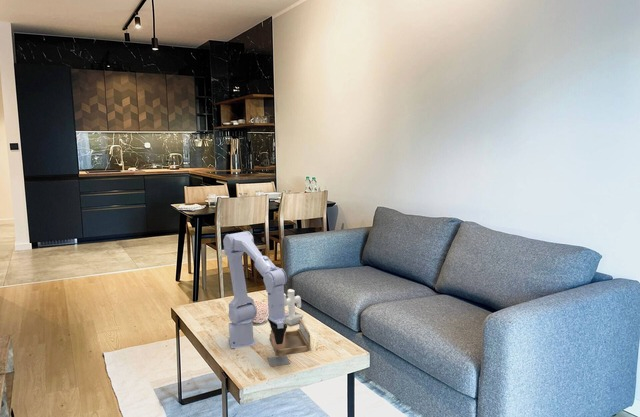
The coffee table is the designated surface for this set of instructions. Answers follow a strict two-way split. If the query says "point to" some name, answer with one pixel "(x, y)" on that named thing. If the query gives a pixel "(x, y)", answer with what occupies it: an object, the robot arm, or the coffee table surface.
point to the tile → (278, 360)
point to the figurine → (292, 308)
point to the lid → (304, 332)
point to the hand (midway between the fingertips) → (277, 340)
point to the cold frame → (292, 343)
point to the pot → (275, 341)
